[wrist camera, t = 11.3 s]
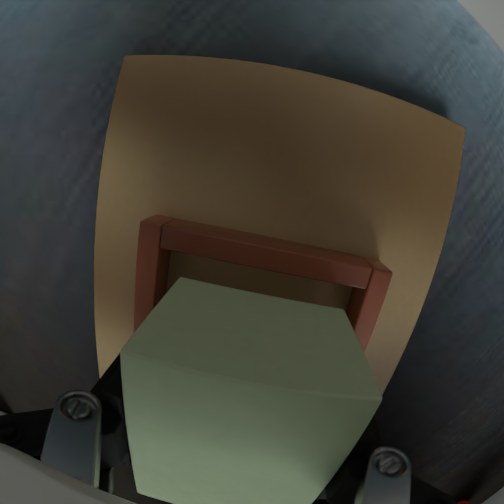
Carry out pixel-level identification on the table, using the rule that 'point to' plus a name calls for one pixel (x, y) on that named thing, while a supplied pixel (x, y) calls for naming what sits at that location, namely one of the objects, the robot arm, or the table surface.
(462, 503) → the beverage can
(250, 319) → the pale green square block
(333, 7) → the table surface
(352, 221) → the back plate
